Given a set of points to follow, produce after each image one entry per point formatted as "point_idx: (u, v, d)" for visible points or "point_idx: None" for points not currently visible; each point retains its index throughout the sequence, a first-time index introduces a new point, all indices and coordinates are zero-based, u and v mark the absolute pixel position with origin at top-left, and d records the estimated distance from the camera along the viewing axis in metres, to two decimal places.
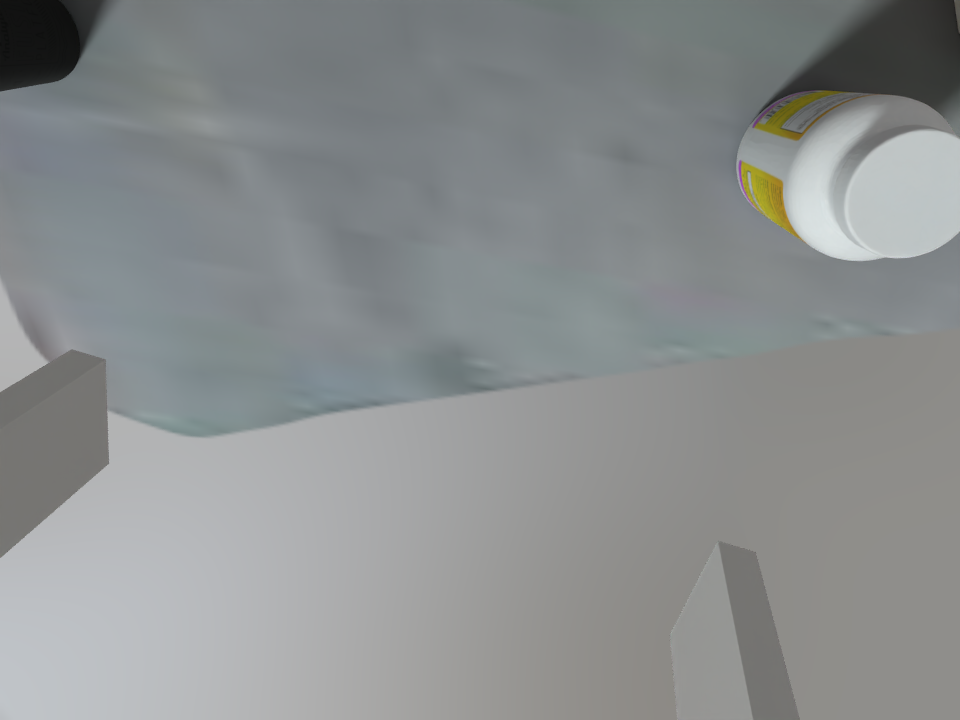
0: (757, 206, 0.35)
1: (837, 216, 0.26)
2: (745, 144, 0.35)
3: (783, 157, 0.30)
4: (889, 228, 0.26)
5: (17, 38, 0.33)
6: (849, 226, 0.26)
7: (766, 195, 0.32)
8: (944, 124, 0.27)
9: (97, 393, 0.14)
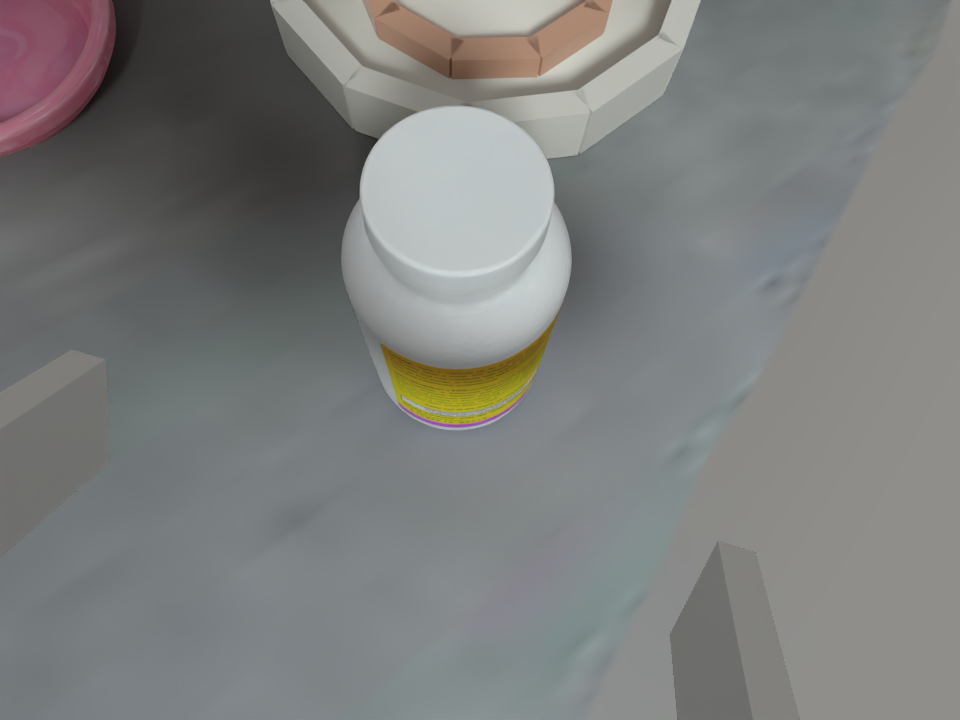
0: (453, 417, 0.25)
1: (424, 285, 0.17)
2: (385, 387, 0.26)
3: (363, 328, 0.20)
4: (478, 231, 0.16)
5: None
6: (433, 271, 0.16)
7: (415, 385, 0.22)
8: None
9: (98, 393, 0.14)
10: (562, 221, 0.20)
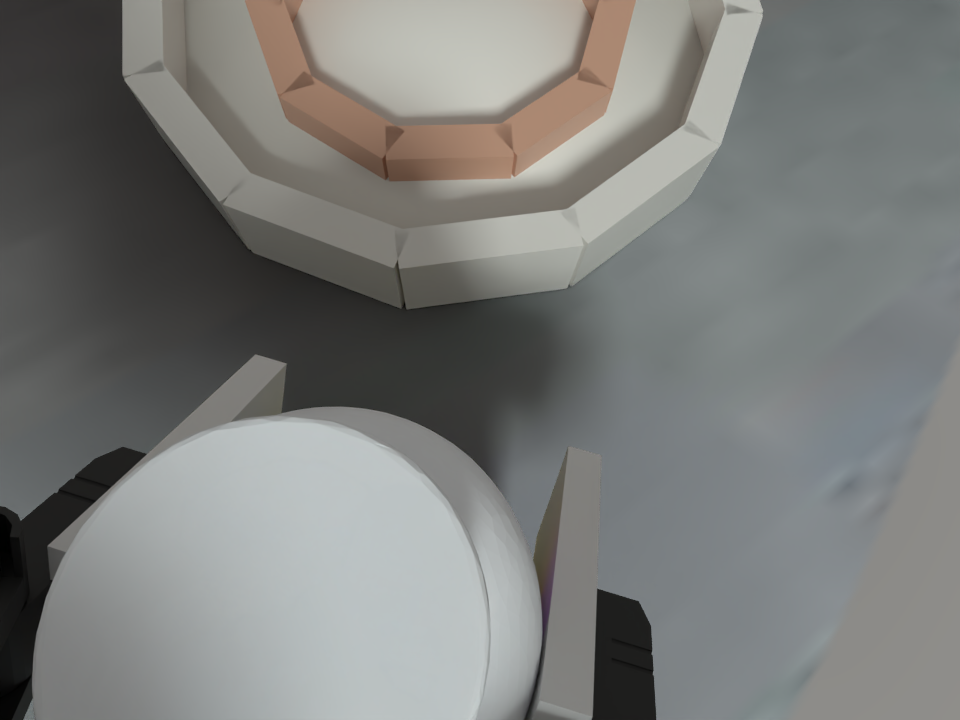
0: None
1: None
2: None
3: None
4: None
5: None
6: None
7: None
8: (308, 416, 0.11)
9: (279, 394, 0.16)
10: (524, 565, 0.10)
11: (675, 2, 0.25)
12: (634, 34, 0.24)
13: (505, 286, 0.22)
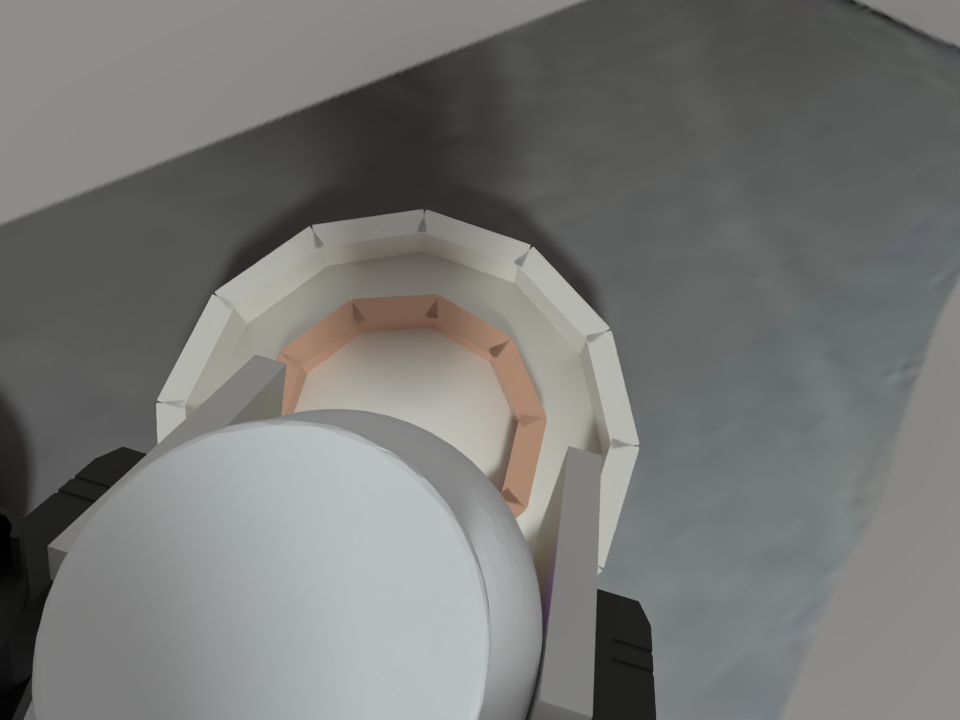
0: None
1: None
2: None
3: None
4: None
5: None
6: None
7: None
8: (309, 418, 0.11)
9: (279, 394, 0.16)
10: (524, 567, 0.10)
11: (580, 404, 0.32)
12: (548, 435, 0.32)
13: None
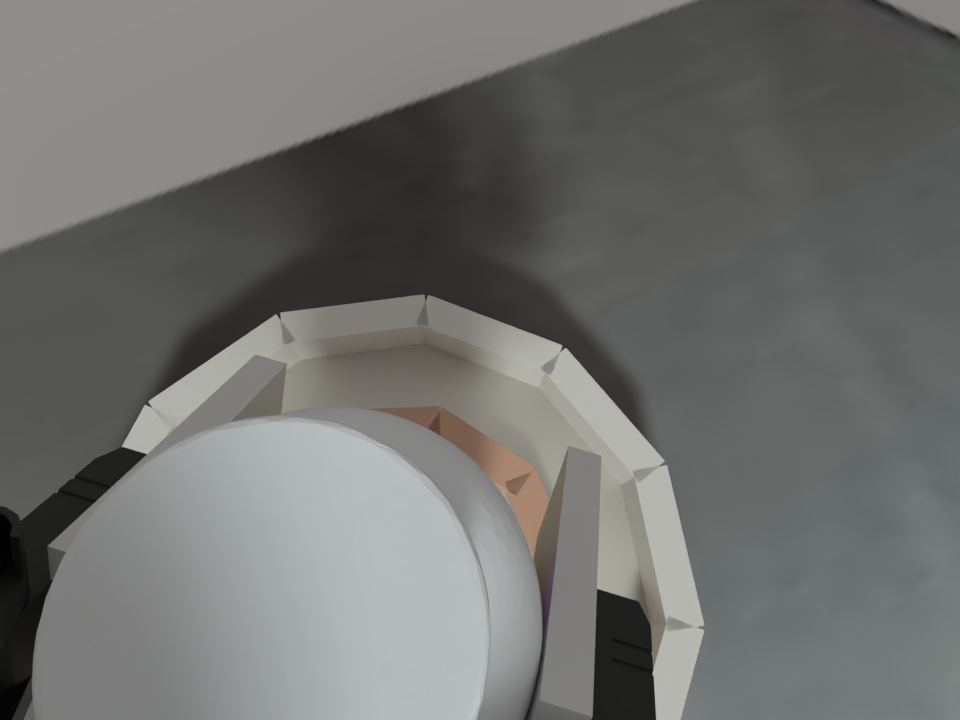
0: None
1: None
2: None
3: None
4: None
5: None
6: None
7: None
8: (309, 416, 0.11)
9: (279, 394, 0.16)
10: (524, 565, 0.10)
11: (622, 553, 0.25)
12: None
13: None
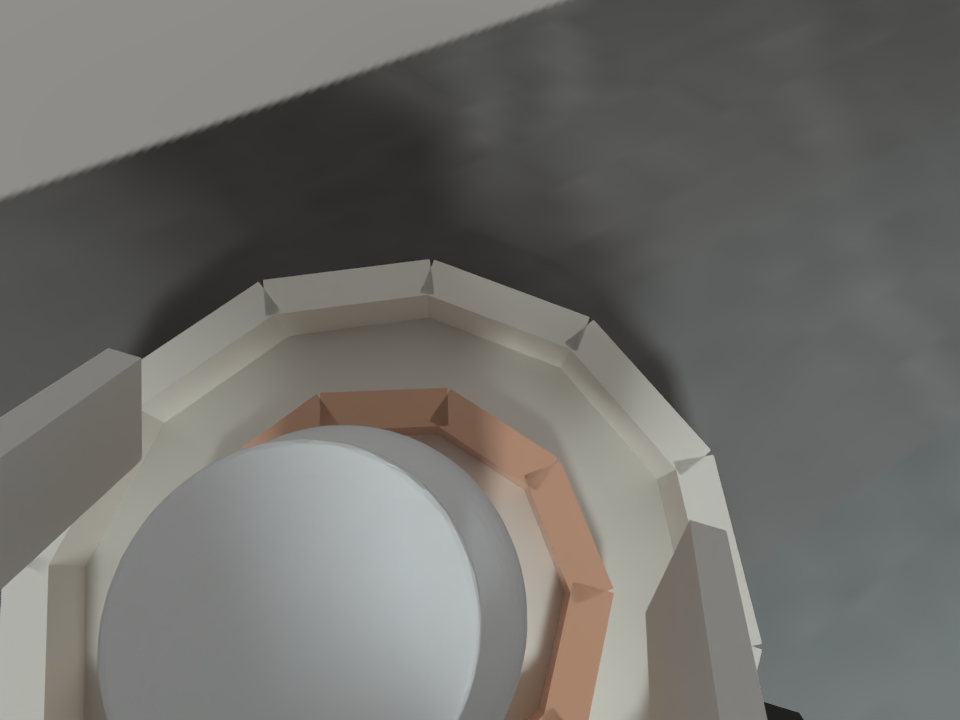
0: None
1: None
2: None
3: None
4: None
5: None
6: None
7: None
8: (323, 433, 0.12)
9: (134, 391, 0.15)
10: (512, 568, 0.12)
11: (660, 558, 0.21)
12: (612, 609, 0.21)
13: None
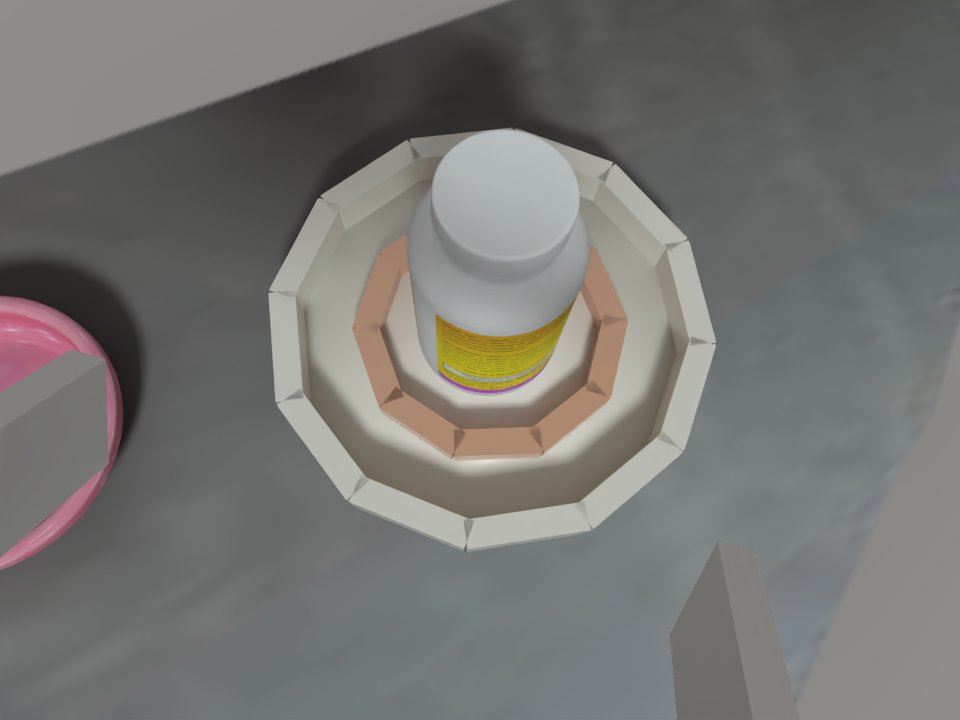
0: (485, 383, 0.30)
1: (478, 267, 0.22)
2: (427, 358, 0.31)
3: (421, 302, 0.26)
4: (521, 227, 0.21)
5: None
6: (487, 256, 0.21)
7: (459, 352, 0.27)
8: None
9: (98, 393, 0.14)
10: (583, 221, 0.25)
11: (656, 311, 0.34)
12: (627, 338, 0.34)
13: (535, 540, 0.31)
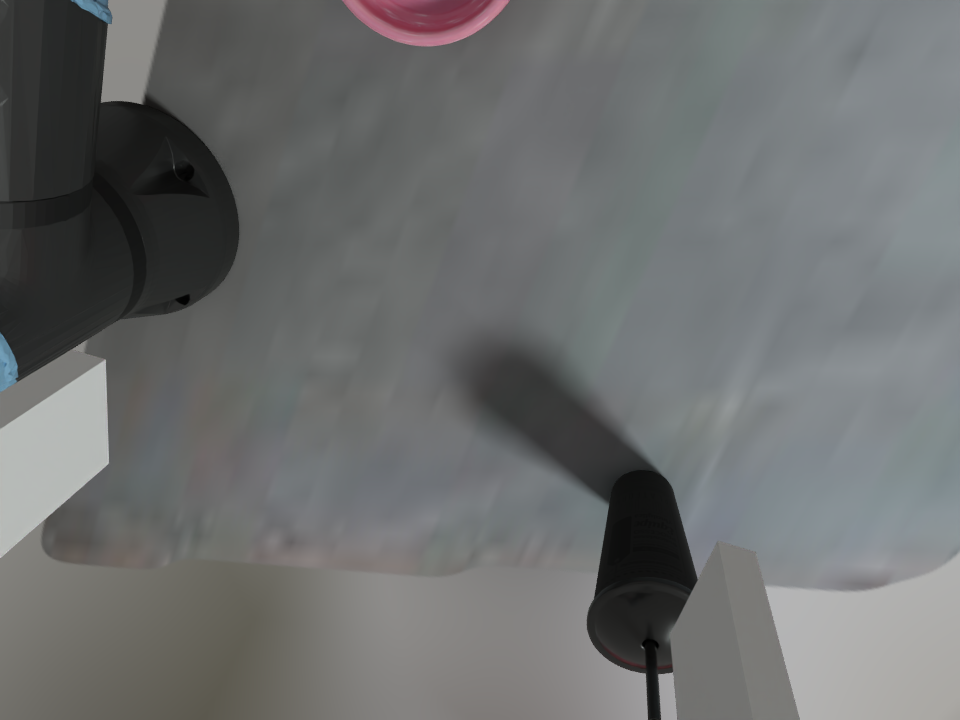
0: None
1: None
2: None
3: None
4: None
5: (657, 510, 0.49)
6: None
7: None
8: None
9: (98, 393, 0.14)
10: None
11: None
12: None
13: None
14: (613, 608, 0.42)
